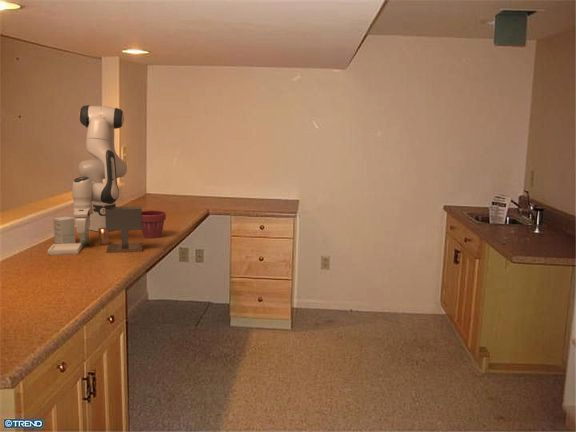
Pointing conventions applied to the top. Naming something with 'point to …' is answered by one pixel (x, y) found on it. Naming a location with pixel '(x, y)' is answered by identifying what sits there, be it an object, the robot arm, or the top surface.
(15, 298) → the top surface
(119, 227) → the mounted unit
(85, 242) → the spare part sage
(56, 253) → the tray
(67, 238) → the supplement box
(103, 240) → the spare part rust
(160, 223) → the plant pot
